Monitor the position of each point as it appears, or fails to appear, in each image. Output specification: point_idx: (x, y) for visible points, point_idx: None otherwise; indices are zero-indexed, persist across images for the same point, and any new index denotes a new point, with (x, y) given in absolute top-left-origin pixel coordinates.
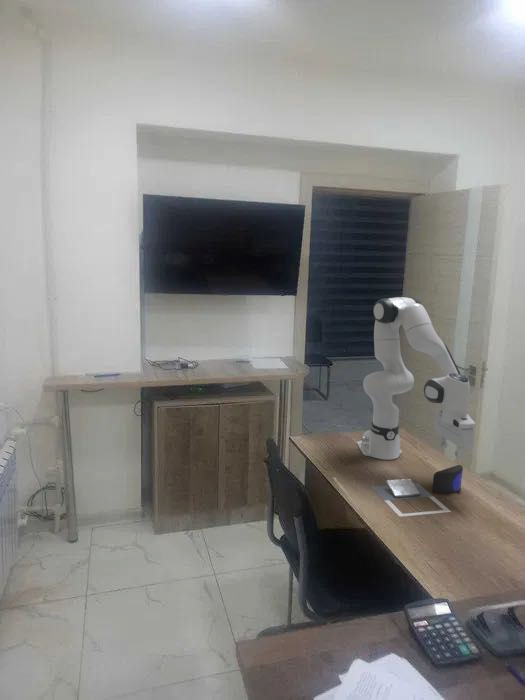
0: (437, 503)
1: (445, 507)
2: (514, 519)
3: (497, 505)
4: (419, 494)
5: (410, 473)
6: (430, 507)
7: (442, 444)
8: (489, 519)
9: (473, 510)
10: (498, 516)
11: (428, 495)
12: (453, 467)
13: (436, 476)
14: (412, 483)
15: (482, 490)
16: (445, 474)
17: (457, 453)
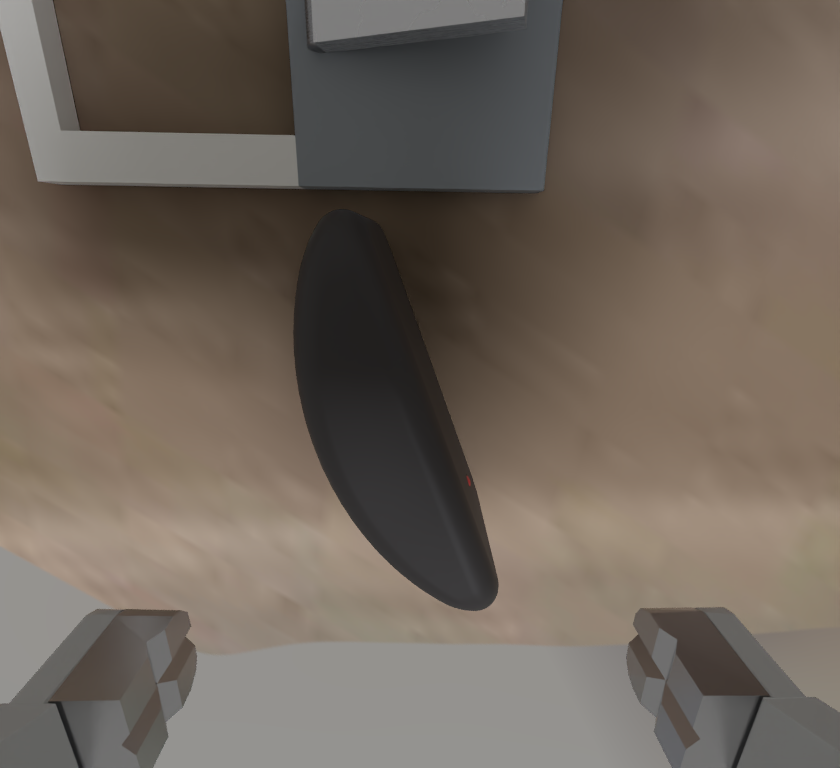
0: (174, 143)
1: (108, 174)
2: (38, 545)
3: (200, 557)
4: (307, 35)
5: (753, 265)
6: (175, 78)
7: (710, 660)
8: (22, 414)
9: (135, 387)
10: (66, 486)
11: (317, 148)
12: (431, 514)
13: (317, 227)
14: (446, 12)
15: (386, 587)
16: (294, 335)
17: (36, 678)
